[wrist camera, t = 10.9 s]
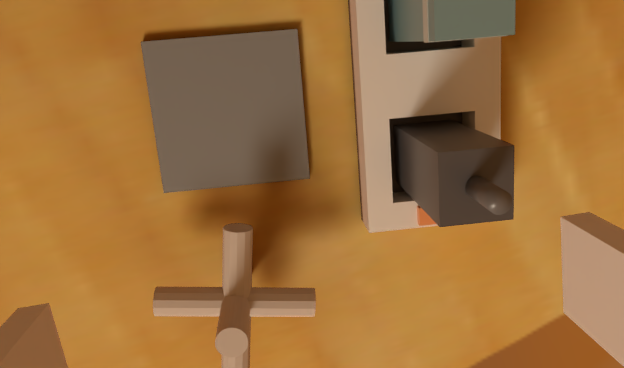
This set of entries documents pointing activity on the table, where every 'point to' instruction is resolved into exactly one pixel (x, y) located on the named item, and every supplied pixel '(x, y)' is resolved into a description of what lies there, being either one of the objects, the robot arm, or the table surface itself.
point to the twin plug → (455, 172)
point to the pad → (227, 109)
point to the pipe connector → (235, 299)
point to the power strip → (412, 103)
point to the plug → (449, 19)
